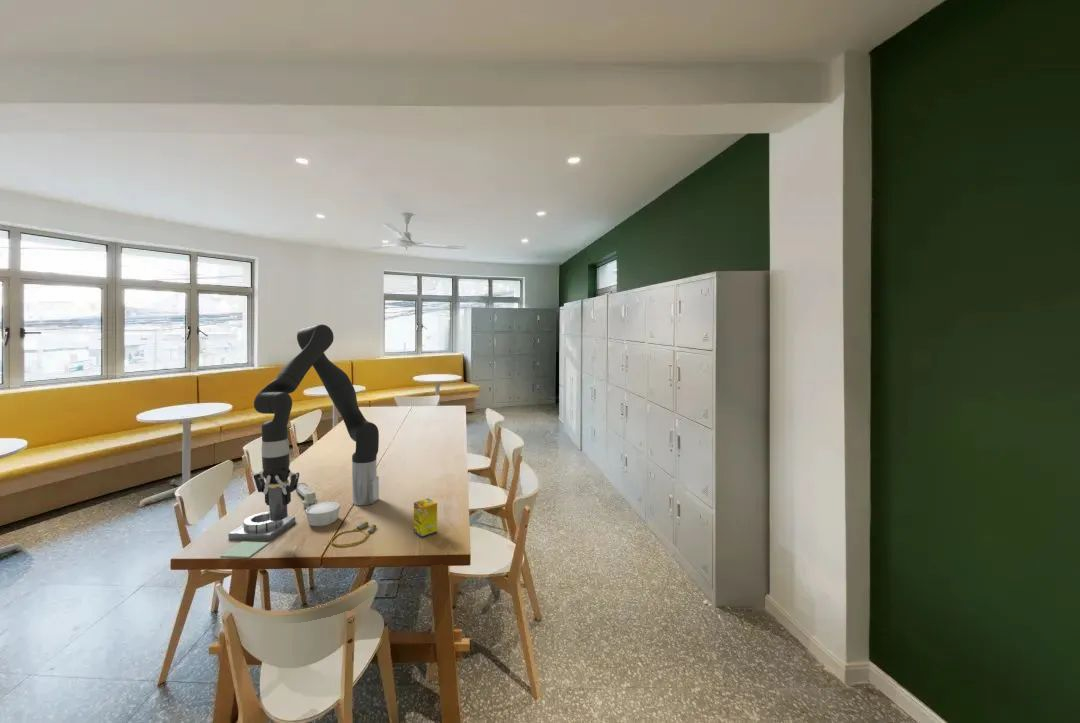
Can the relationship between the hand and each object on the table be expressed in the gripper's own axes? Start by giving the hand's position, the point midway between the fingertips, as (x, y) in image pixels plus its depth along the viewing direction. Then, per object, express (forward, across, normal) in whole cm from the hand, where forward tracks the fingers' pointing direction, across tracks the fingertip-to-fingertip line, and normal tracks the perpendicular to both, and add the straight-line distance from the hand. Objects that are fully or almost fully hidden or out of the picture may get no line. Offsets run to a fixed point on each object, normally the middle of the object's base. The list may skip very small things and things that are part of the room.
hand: (278, 504), depth 139 cm
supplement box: (+14, -45, -9) cm, 48 cm away
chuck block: (+13, +11, -8) cm, 19 cm away
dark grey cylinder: (+4, 0, 0) cm, 4 cm away
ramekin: (+14, -5, -17) cm, 22 cm away
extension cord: (+14, -22, -6) cm, 27 cm away
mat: (+13, +8, +5) cm, 16 cm away
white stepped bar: (+14, +12, -36) cm, 41 cm away
